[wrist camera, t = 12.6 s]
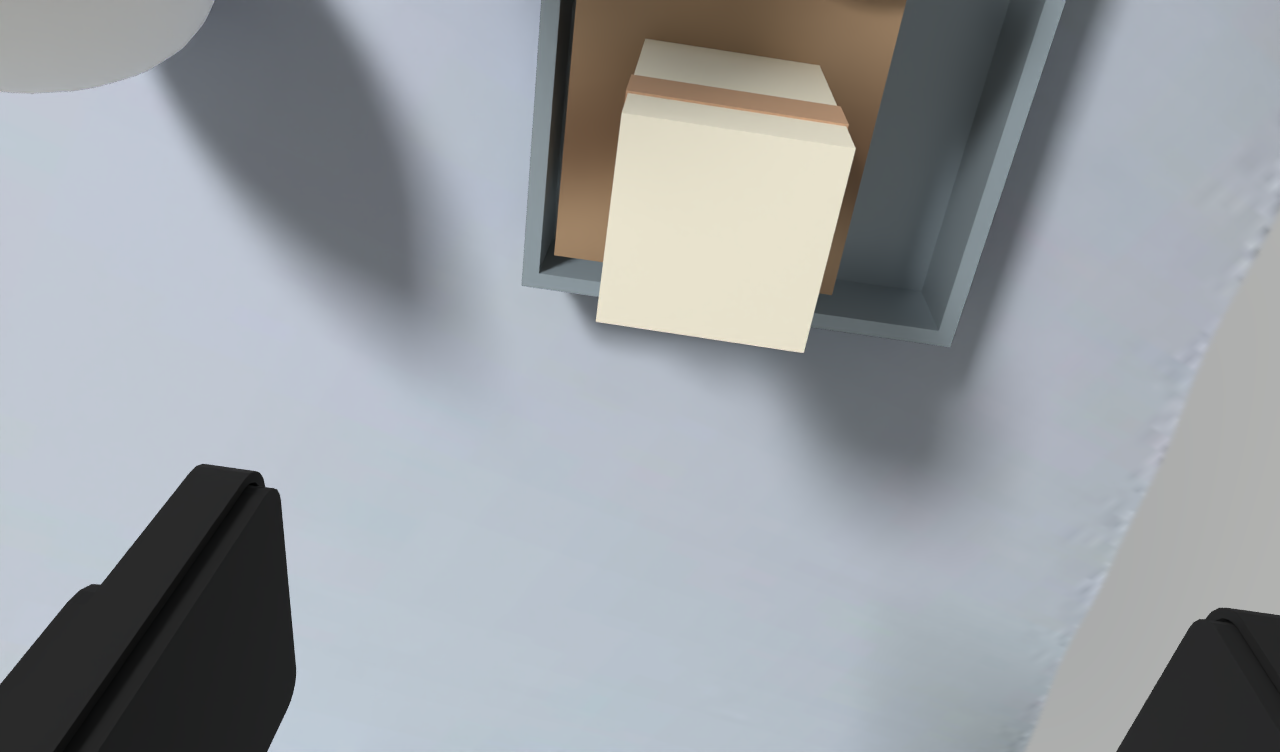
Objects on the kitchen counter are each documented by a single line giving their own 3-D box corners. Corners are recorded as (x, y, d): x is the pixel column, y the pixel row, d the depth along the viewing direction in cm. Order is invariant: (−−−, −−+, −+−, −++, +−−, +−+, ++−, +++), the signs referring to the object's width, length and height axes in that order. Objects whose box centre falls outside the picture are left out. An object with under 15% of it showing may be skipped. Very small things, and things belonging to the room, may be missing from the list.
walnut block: (605, -73, 32) (580, -48, 26) (870, -34, 32) (906, -1, 26) (580, 183, 37) (554, 255, 30) (812, 217, 37) (831, 295, 31)
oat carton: (643, 36, 27) (619, 109, 20) (821, 63, 27) (858, 146, 20) (621, 206, 30) (593, 323, 23) (783, 231, 30) (805, 355, 23)
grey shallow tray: (586, -374, 28) (568, -401, 25) (1115, -296, 29) (1170, -312, 25) (538, 244, 39) (521, 286, 35) (929, 300, 39) (950, 347, 35)
